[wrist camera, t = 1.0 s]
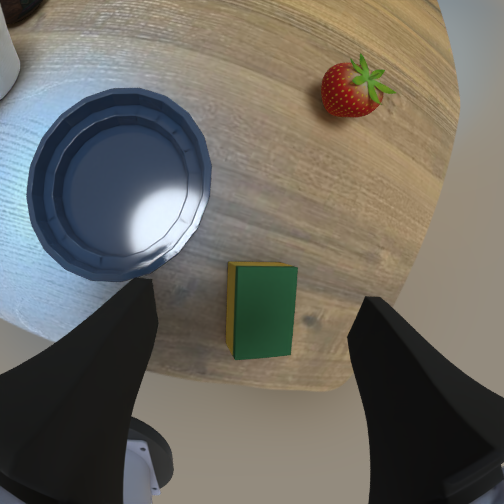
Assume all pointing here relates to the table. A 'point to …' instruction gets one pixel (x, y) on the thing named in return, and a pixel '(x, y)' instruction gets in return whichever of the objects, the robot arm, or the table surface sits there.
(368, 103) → the fruit
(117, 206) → the bowl
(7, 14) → the mate gourd
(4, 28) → the cup
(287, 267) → the sponge
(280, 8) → the table surface
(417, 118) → the table surface
